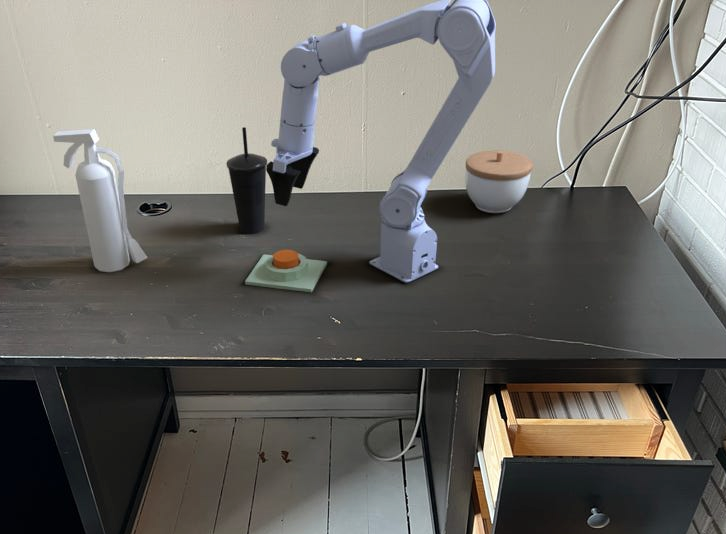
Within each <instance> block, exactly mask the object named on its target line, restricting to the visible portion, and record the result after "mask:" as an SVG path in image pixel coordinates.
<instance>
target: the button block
mask: <svg viewBox="0 0 726 534" xmlns="http://www.w3.org/2000/svg"><path fill="white" fill-rule="evenodd" d="M273 255H274V254H263V255H262V256H261V257H260V259H259V260H258V262H257V263H256V264H255V266H254V267H253V269H252V270H251V272H250V273H249V274H248V276H247V278H246V279H245V280H244V285H246V286H247V285H248V286H255V287H264V288H273V289H281V290H287V291H295V292H296V291H297V292H305V293H313V291H314V290H315V287H316V286H317V283H318V282H319V279H320V278H321V276H322V274H323V273H324V270H325V269H326V267H327V265H328V261H325V260H321V259H320V260H319V259H309V258H307V257H306V256H305V255H303V254H300V253H298V259H299V264H298V266H296V267H294V268H290V269H278V268H276V267H274V264H273Z"/></svg>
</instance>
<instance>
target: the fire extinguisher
mask: <svg viewBox="0 0 726 534" xmlns="http://www.w3.org/2000/svg"><path fill="white" fill-rule="evenodd" d="M52 138H53V142H54V143H70V144H72V145H70V146H69V147H68V149H67V150H66V152H65V154H64V155H63V166H64V167H65V168H67V169H70V168H72V167H73V166H74V161H75V155H76V153H77V151H78V150H79V148H80V147H81V146H82V145H83V153H84V157H83V158H84V160H83V161H82V162H80V163H78V164H77V168H76V171H75V174H74V175H75V180H76V185H77V189H78V190H77V191H78V195H79V200H80V204H81V209H82V214H83V219H84V223H85V228H86V233H87V238H88V242H89V243H88V244H89V247H90V252H91V256H92V262H93V267H94V268H95V269H96V270H98V271H99V272H104V273H105V272H106V273H113V272H118V271H122V270H124V269H125V268H126V267H128V266H129V265H130V261H131V260H132V261H133V262H134V263H135V264H138V263H141V262H142V261H144V260H146V259H149V258H148V257H149V256H148V255H146V253H145V252H144V249H142V247H141V246H140V244H139V242H138V241H137V239H134V238H133V237H132V235H131V233H130V230H129V229H128V221H127V212H126V202H125V201H126V200H125V192H124V180H125V179H124V178H125V170H124V167H123V164H122V161H121V158H120V155H119V154H117V153H115V152H114V151H112V150H111V149H109V148H107V147H102V146H101V147H100V146H99V147H98V146H97V145H96V144H97V142H99V141H100V137H99V136H98V133H97V131H96V129H95V128H87V129H73V130H72V129H71V130H58V131H57V132H56V133H55V134H53V136H52ZM100 154H106V155H108V156H109V157H111V158H113V159H114V160H115V164H116V167H117V171H118V172H117V173H118V175H117V177H118V178H116V170H115V168H114V166H113V165H112V164H111V162H110V161H108V160H106V159H103V158H101V156H100ZM130 257H131V259H130Z"/></svg>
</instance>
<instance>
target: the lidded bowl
mask: <svg viewBox="0 0 726 534" xmlns="http://www.w3.org/2000/svg"><path fill="white" fill-rule="evenodd" d="M533 166H534V164H533V161H532V160H531V159H530V158H529V156H526V155H524V154H521V153H519V152H515V151H510V150H498V149H497V150H484V151H479V152H476V153H473V154H470V155H469V156H467V158H466V160H465V173H464V174H465V176H464V180H465V182H464V183H465V190H466V192H467V196H468V198H469V199H470V201H471V202H472V203H473V204H474V205H475V207H476V209H478V210H480V211H482V212H484V213H485V212H486V213H491V214H500V213H506V212H508V211H510V210H511V209H513V207H515V205H517V204H518V203H519V202H520V201H521V200H522V199H523V197H524V196H525V194H526V193H527V190H528V188H529V184H530V179H531V175H532V171H533Z"/></svg>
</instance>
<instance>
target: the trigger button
mask: <svg viewBox="0 0 726 534" xmlns="http://www.w3.org/2000/svg"><path fill="white" fill-rule="evenodd" d="M298 254H299V252H297V251H295V250H292V249H281V250H278V251H276V252H275V253H273V254H272V255H273V264H274V267H276V268H278V269H290V268H294V267H296V266H298V264H299V259H298Z"/></svg>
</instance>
